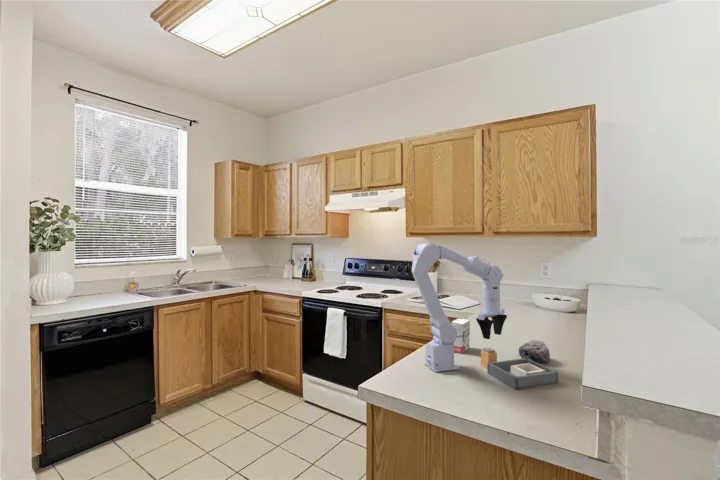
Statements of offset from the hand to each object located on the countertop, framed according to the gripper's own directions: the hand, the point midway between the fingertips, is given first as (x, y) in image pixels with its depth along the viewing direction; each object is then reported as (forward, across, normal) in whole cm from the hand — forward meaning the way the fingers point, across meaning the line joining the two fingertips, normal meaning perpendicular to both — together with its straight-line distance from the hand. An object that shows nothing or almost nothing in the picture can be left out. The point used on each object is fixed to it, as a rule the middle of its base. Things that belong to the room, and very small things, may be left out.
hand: (492, 336), depth 122 cm
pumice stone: (+11, +15, -8) cm, 20 cm away
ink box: (+10, +4, +16) cm, 20 cm away
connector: (+10, -4, -1) cm, 11 cm away
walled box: (+10, -5, -13) cm, 17 cm away
